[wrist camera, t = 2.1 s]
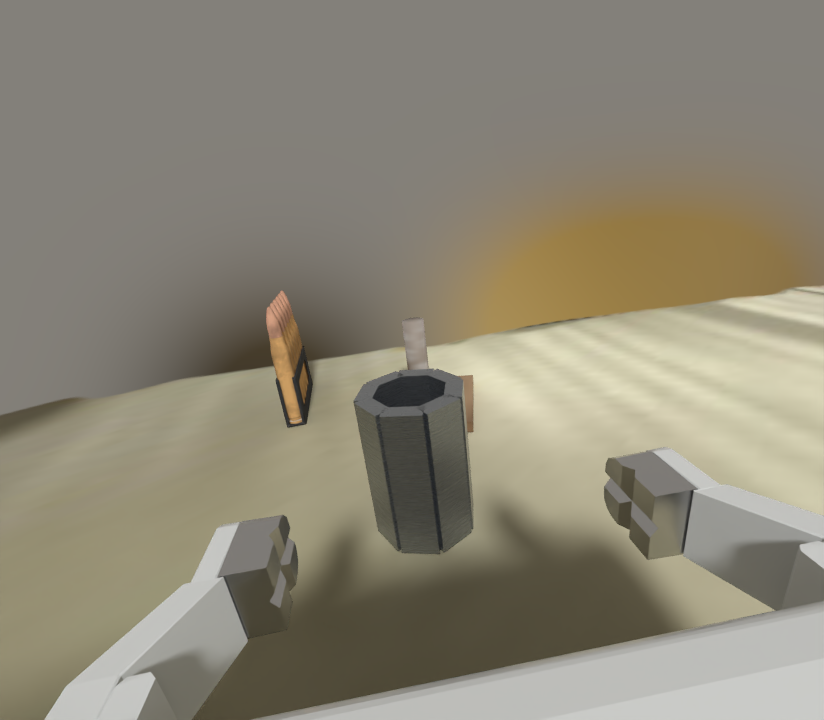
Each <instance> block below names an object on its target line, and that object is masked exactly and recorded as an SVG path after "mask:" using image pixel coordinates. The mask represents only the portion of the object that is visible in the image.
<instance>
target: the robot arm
mask: <svg viewBox="0 0 824 720" xmlns="http://www.w3.org/2000/svg"><path fill="white" fill-rule="evenodd" d="M605 472H606V473H607V474H608V476H609V477H610V479H609V481H608V482H607V484H606V485H605V486H604V499H605V502H606V506H607V509H608V511H609V512H610V514H611V516H612V517H613V519H614V520H615V521H616V522H617V524H619V525H621V526H623V527H625V528H627V529H629V530H630V532H629V538H630V539H631V541H632V542H633V543H634V544H635V545H636V547H637V548H638V549H639V550H640V551H641V553H642V554H643V555H644V556H645V557H646V559H647V560H650V559H657V558H663V557H669V556H675V555H681V554H683V556H684V557H686V558H687V559H689V560H691V561H692V562H694V563H696V564H697V565H699V566H701V567H703V568H704V569H706V570H708V571H709V572H711V573H713V574H715V575H716V576H718V577H720V578H721V579H723V580H725V581H726V582H728V583H730V584H732V585H733V586H735V587H737V588H738V589H740V590H742V591H743V592H745V593H747V594H749V595H750V596H752V597H754V598H755V599H757V600H759V601H761V602H762V603H764V604H766V605H767V606H769V607H771V608H772V609H774V610H776V611H772V612H767V613H762V614H757V615H752V616H748V617H743V618H738V619H733V620H728V621H723V622H719V623H714V624H709V625H704V626H699V627H694V628H690V629H685V630H680V631H675V632H670V633H666V634H661V635H656V636H651V637H646V638H641V639H637V640H632V641H627V642H622V643H617V644H612V645H608V646H603V647H598V648H593V649H588V650H584V651H579V652H574V653H569V654H564V655H560V656H555V657H550V658H545V659H540V660H536V661H531V662H526V663H521V664H516V665H512V666H507V667H502V668H497V669H492V670H487V671H483V672H478V673H473V674H468V675H463V676H459V677H454V678H449V679H444V680H439V681H434V682H430V683H425V684H420V685H415V686H410V687H405V688H401V689H396V690H391V691H386V692H381V693H376V694H371V695H367V696H362V697H357V698H352V699H347V700H342V701H338V702H333V703H328V704H323V705H318V706H313V707H309V708H304V709H299V710H294V711H289V712H285V713H280V714H275V715H270V716H265V717H261V718H256V719H251V720H824V516H822V515H819V514H816V513H813V512H810V511H807V510H804V509H801V508H798V507H795V506H792V505H789V504H786V503H783V502H780V501H777V500H774V499H770V498H767V497H764V496H761V495H758V494H755V493H752V492H749V491H746V490H743V489H740V488H737V487H734V486H731V485H728V484H726V485H720V484H718V483H717V482H716V481H714V480H713V479H712V478H710V477H709V476H708V475H706V474H705V473H704V472H702V471H701V470H700V469H698V468H697V467H696V466H694V465H693V464H692V463H690V462H689V461H687V460H686V459H685V458H683V457H682V456H681V455H679V454H678V453H677V452H675V451H674V450H673V449H671V448H667V447H663V448H658V449H653V450H648V451H646V452H640V453H634V454H629V455H623V456H618V457H612V458H608V460H607V462H606V469H605ZM289 531H290V526H289V523H288V520H287V517H286V516H284V515H280V516H274V517H267V518H261V519H254V520H247V521H242V522H236V523H230V524H224V525H221V526H219V527H218V528H217V529H216V531H215V533H214V535H213V537H212V539H211V541H210V543H209V545H208V548H207V550H206V552H205V554H204V556H203V558H202V560H201V562H200V564H199V566H198V568H197V570H196V572H195V574H194V577H193V579H192V581H191V583H187V584H183V585H182V586H181V587H180V588H179V589H177V590H176V591H175V592H174V593H173V594H172V595H171V596H169V597H168V598H167V599H166V600H165V601H164V602H162V603H161V604H160V605H159V606H158V607H157V608H156V609H154V610H153V611H152V612H151V613H150V614H149V615H148V616H146V617H145V618H144V619H143V620H142V621H141V622H139V623H138V624H137V625H136V626H135V627H134V628H133V629H131V630H130V631H129V632H128V633H127V634H126V635H124V636H123V637H122V638H121V639H120V640H119V641H118V642H116V643H115V644H114V645H113V646H112V647H111V648H110V649H108V650H107V651H106V652H105V653H104V654H103V655H101V656H100V657H99V658H98V659H97V660H96V661H95V662H93V663H92V664H91V665H90V666H89V667H88V668H86V669H85V670H84V671H83V672H82V673H81V674H80V675H78V676H77V677H76V678H75V679H74V680H73V681H72V682H70V683H69V684H68V685H67V686H66V687H65V689H64V690H63V692H62V693H61V695H60V696H59V698H58V699H57V701H56V703H55V704H54V706H53V707H52V709H51V710H50V712H49V713H48V715H47V717H46V718H45V720H192V719H193V717H194V716H195V715H196V713H197V712H198V710H199V709H200V708H201V706H202V705H203V703H204V702H205V701H206V699H207V698H208V696H209V695H210V694H211V692H212V691H213V689H214V688H215V687H216V685H217V684H218V682H219V681H220V680H221V678H222V677H223V675H224V674H225V673H226V671H227V670H228V669H229V667H230V666H231V664H232V663H233V662H234V660H235V659H236V657H237V656H238V655H239V653H240V652H241V650H242V649H243V648H244V646H245V645H246V643H247V642H248V639H249V638H253V637H258V636H262V635H267V634H271V633H276V632H280V631H284V630H287V628H288V623H289V618H290V613H291V608H292V603H293V601H292V598H291V595H290V591H291V590H292V588H293V587H294V586H295V585H296V581H297V575H298V557H297V550H296V546H295V543H294V542H293V541H292V540H291V539H289V538H288V535H289Z"/></svg>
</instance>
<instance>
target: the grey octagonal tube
mask: <svg viewBox="0 0 824 720" xmlns="http://www.w3.org/2000/svg"><path fill="white" fill-rule="evenodd" d="M354 406H355V411H356V416H357V422H358V427H359V432H360V437H361V443H362V448H363V453H364V458H365V464H366V469H367V474H368V479H369V485H370V490H371V495H372V500H373V506H374V511H375V516H376V521H377V527H378V531H379V532H380V533H381V534H382V535H383V536H384V537H385V538H386V539H387V540H388V541H389V542H390V543H391V544H392V545H393V546H394V547H395V548H396V550H397V551H399V550H402V553H425V554H440V549H441V550H442V551H443V552H445V551H447V550H448V549H450V548H451V547H452V546H454V545H455V544H456V543H458V542H459V541H460V540H462V539H463V538H464V537H466V536H467V535H468V534H470V533H471V529H473V496H472V483H471V471H470V458H469V445H468V433H467V420H466V408H465V395H464V383H463V379H462V378H461V377H458V376H455V375H453V374H450V373H447V372H444V371H442V370H439V369H436V370H434V369H417V370H400V371H399V372H396V371H395V372H393V373H390V374H387V375H385V376H382V377H380V378H377V379H374V380H372V381H369V382H367V384H364V385H363V386H362V388H361V390H360V391H359V393H358V395H357V396H356V398H355V400H354Z"/></svg>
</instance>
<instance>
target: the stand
mask: <svg viewBox="0 0 824 720" xmlns="http://www.w3.org/2000/svg"><path fill="white" fill-rule="evenodd" d="M402 327H403V334H404V342H405V350H406V357H407V365H408V370H417V369H429V366H428V357H427V348H426V339H425V331H424V322H423V319H422V318H409V319H405V320H403V321H402ZM458 377H461V378H462V379H463V383H464V395H465V408H466V420H467V432H473V375H468V376H458Z"/></svg>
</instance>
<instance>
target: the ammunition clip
mask: <svg viewBox="0 0 824 720" xmlns="http://www.w3.org/2000/svg"><path fill="white" fill-rule="evenodd" d="M266 321H267V329H268V334H269V340H270V344H271V355H272V359H273V363H274V367H275V371H276V375H277V378H276V384H277V388H278V392H279V396H280V400H281V404H282V408H283V412H284V416H285V420H286V424H287V427H292V426H298V425H303V424H306V423H307V417H308V410H309V404H310V397H311V391H312V385H313V384H312V379H311V375H310V371H309V367H308V362H307V359H306V354H305V350H304V346H302V344H301V339H300V335H299V331H298V327H297V325H296V323H295V320H294V316H293V314H292V310H291V306H290V303H289V301H288V299H287V297H286V295H285V293H284V292H283V291H281V292H280V293H279V294H278V296H276V299H275V300H273V303H271V304H270V307H267V312H266Z"/></svg>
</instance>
